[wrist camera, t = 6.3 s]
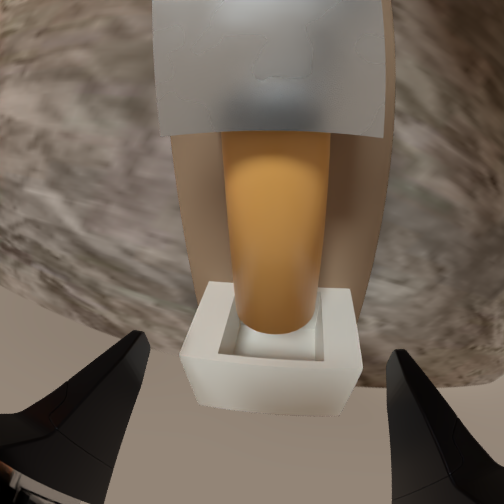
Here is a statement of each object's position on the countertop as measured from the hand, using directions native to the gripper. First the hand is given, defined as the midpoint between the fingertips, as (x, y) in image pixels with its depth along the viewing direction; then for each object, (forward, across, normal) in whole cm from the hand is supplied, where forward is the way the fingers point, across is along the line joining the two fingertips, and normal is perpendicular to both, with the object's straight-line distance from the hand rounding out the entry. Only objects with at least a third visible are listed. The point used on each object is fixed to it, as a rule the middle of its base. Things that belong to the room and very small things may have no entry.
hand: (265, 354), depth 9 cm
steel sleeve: (+7, 0, -11) cm, 13 cm away
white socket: (+7, 0, +5) cm, 9 cm away
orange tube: (+5, 0, -5) cm, 8 cm away
